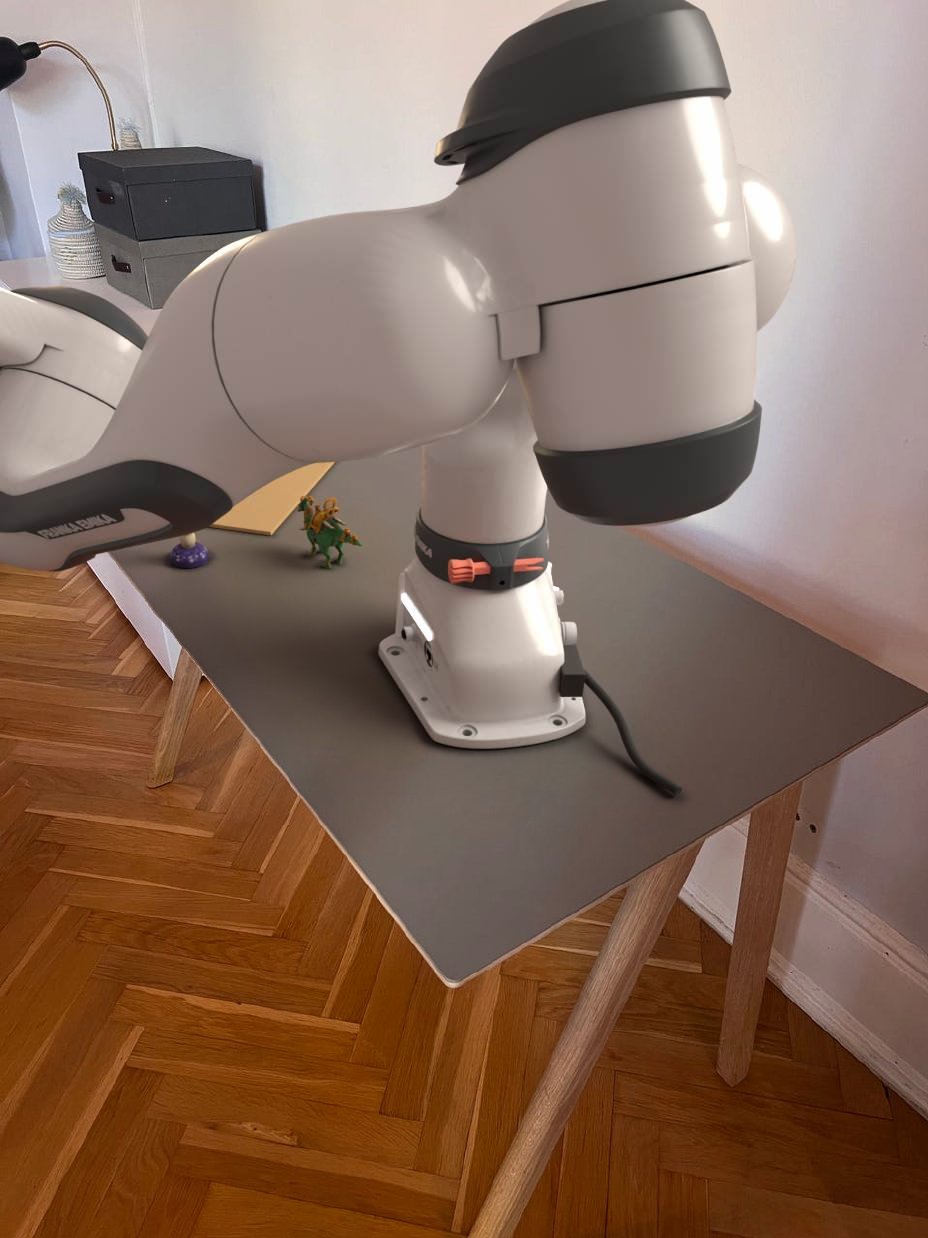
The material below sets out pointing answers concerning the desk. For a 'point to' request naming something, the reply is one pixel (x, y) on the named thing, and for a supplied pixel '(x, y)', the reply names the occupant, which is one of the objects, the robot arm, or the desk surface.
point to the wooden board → (272, 501)
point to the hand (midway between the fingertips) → (121, 477)
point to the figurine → (325, 528)
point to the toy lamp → (189, 553)
